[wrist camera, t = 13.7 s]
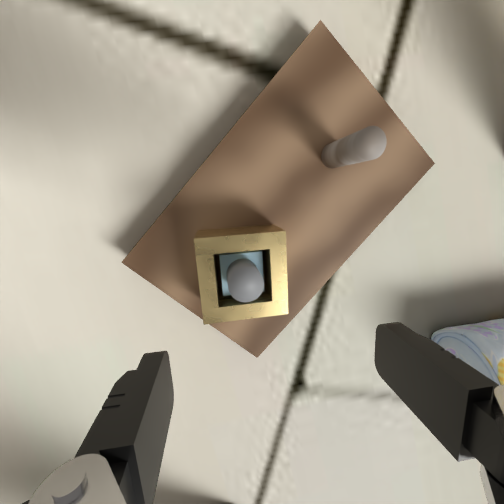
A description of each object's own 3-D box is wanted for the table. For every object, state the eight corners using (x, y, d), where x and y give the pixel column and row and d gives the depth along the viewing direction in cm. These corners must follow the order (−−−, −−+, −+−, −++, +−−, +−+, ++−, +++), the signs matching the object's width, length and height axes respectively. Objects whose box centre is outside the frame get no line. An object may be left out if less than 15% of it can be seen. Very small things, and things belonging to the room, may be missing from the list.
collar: (273, 224, 22) (285, 230, 18) (276, 294, 23) (288, 314, 19) (197, 230, 21) (193, 238, 17) (205, 302, 23) (203, 324, 19)
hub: (255, 243, 22) (268, 259, 17) (258, 278, 23) (271, 304, 17) (218, 247, 22) (219, 264, 16) (222, 282, 22) (224, 310, 17)
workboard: (417, 165, 25) (501, 154, 17) (254, 345, 26) (268, 403, 19) (310, 36, 21) (361, -48, 14) (129, 256, 23) (89, 285, 15)
